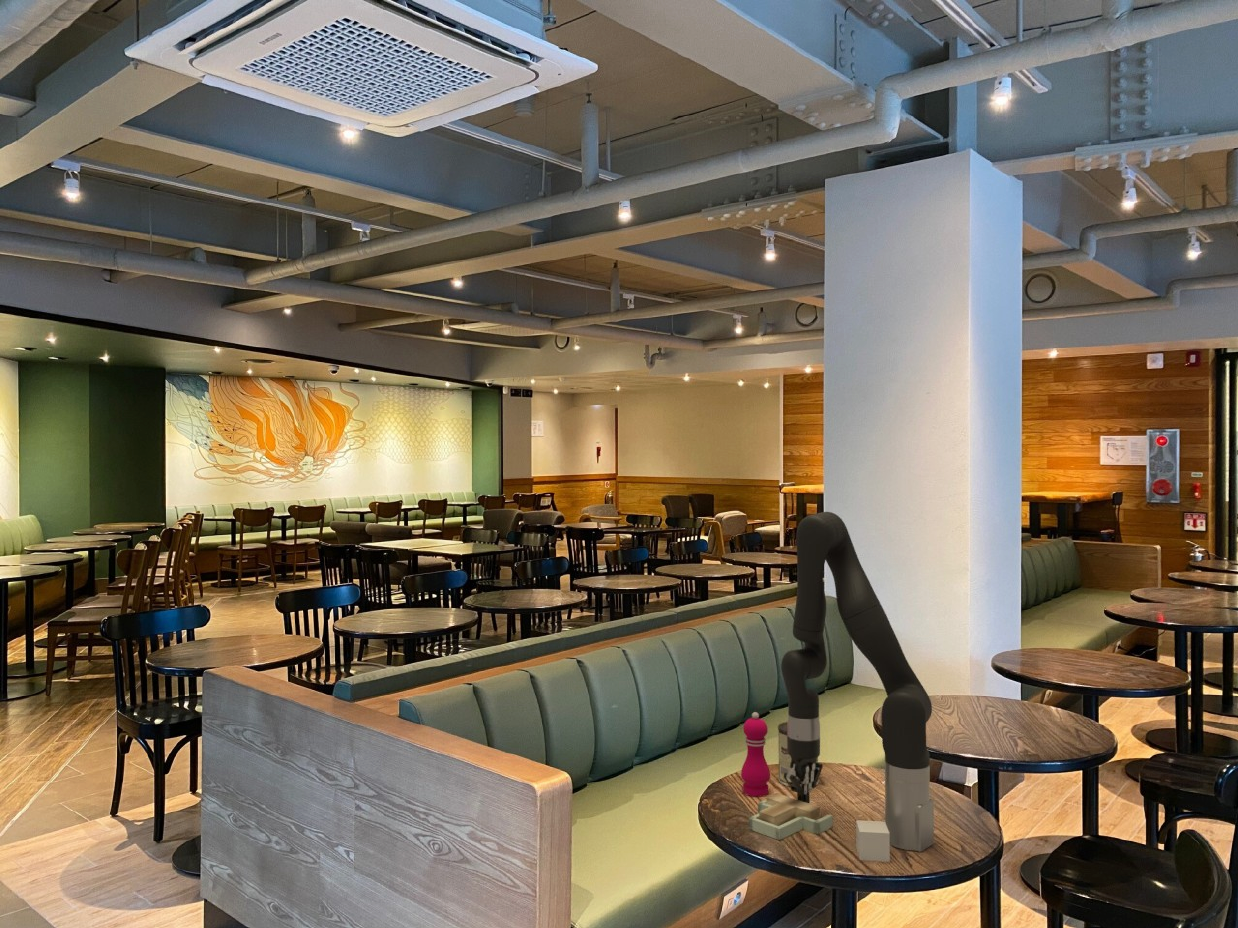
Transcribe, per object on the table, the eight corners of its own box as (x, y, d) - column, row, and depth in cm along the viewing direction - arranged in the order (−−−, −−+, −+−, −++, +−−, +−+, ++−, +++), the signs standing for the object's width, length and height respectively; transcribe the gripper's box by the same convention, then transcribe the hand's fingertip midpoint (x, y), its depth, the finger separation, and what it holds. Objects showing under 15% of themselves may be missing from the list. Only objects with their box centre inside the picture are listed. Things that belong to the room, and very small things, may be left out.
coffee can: (823, 778, 231) (823, 724, 231) (811, 791, 222) (811, 734, 222) (785, 771, 236) (785, 718, 236) (772, 783, 227) (772, 729, 227)
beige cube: (859, 860, 183) (859, 831, 184) (856, 848, 189) (855, 820, 189) (889, 862, 183) (889, 832, 183) (885, 849, 189) (884, 821, 189)
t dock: (832, 826, 201) (832, 815, 201) (794, 845, 190) (794, 834, 190) (773, 806, 212) (773, 796, 212) (734, 823, 202) (734, 812, 202)
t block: (820, 824, 202) (819, 806, 202) (788, 839, 193) (788, 821, 193) (776, 809, 210) (776, 792, 210) (745, 824, 202) (745, 806, 202)
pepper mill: (767, 798, 217) (767, 717, 217) (738, 795, 220) (738, 714, 220) (772, 788, 224) (772, 709, 224) (744, 785, 226) (743, 707, 226)
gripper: (800, 744, 200) (800, 820, 200) (833, 731, 209) (833, 804, 209) (773, 736, 205) (773, 811, 205) (806, 724, 214) (806, 796, 215)
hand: (803, 807), depth 207 cm, fingers closed
